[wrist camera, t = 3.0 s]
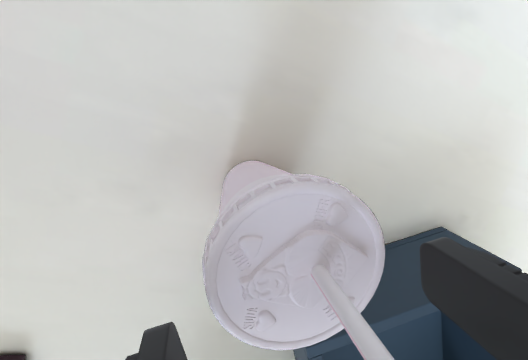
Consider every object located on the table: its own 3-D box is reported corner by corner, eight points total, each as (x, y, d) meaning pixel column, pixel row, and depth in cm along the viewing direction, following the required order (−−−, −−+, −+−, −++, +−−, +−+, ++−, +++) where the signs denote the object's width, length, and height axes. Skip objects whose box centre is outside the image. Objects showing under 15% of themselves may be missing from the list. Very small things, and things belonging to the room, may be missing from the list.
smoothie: (304, 222, 20) (501, 453, 7) (212, 244, 19) (242, 563, 6) (292, 130, 18) (532, 212, 5) (189, 149, 17) (162, 314, 4)
